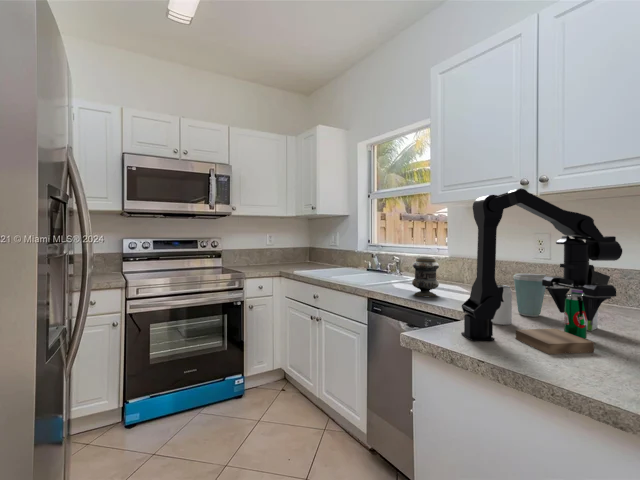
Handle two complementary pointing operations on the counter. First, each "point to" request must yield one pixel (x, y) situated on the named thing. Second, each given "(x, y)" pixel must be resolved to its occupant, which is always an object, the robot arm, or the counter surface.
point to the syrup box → (594, 323)
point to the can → (504, 308)
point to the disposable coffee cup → (529, 293)
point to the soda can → (575, 316)
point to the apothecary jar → (425, 275)
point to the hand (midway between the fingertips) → (575, 316)
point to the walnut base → (554, 341)
